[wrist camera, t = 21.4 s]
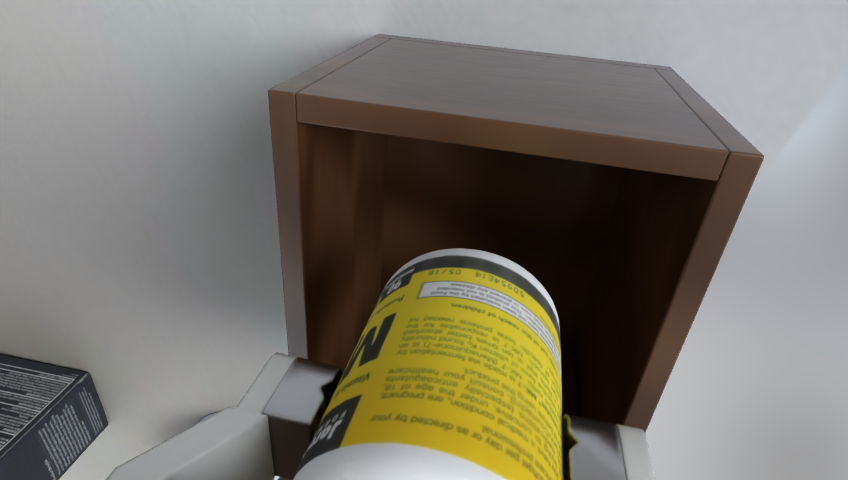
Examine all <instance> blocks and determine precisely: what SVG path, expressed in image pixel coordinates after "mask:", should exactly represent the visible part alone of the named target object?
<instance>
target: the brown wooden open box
mask: <svg viewBox="0 0 848 480" xmlns="http://www.w3.org/2000/svg"><path fill="white" fill-rule="evenodd" d="M268 97H269V110H270V123H271V135H272V148H273V161H274V173H275V186H276V199H277V211H278V224H279V237H280V249H281V262H282V275H283V287H284V300H285V312H286V325H287V338H288V350H289V355H290V356H294V357H300V358H304V359H308V360H313V361H317V362H321V363H325V364H330V365H334V366H338V367H341V368H343V372H344V370H345V368H346V366H347V364H348V362H349V360H350V358H351V356H352V354H353V352H354V349H355V348H356V346H357V344H358V342H359V340H360V337H361V335H362V333H363V331H364V329H365V327H366V325H367V323H368V321H369V319H370V316H371V314H372V312H373V310H374V307H375V305H376V303H377V301H378V299H379V297H380V295H381V293H382V291H383V289H384V288H385V286H386V284H387V283H388V281H389V280H390V279H391V277H392V276H393V275H394V274H395V273H396V272H397V271H398V270H399V269H400V268H401V267H403V266H404V265H405V264H407V263H408V262H410V261H411V260H413V259H415V258H417V257H419V256H421V255H424V254H426V253H430V252H433V251H437V250H444V249H455V248H464V249H475V250H481V251H486V252H489V253H493V254H496V255H499V256H502V257H504V258H507V259H509V260H511V261H513V262H515V263H516V264H518V265H520V266H521V267H523V268H524V269H526V270H527V271H528V272H529V273H530V274H532V275H533V276H534V277H535V278H536V279H537V280H538V281H539V282H540V283H541V284H542V286H543V287H544V288H545V290H546V291H547V292H548V294H549V296H550V297H551V299H552V301H553V303H554V306H555V309H556V311H557V315H558V319H559V326H560V337H561V383H562V419H563V417H564V415H565V414H570V415H575V416H580V417H585V418H590V419H595V420H600V421H605V422H610V423H614V424H619V425H624V426H629V427H634V428H639V429H643V431H644V432H646V429H647V427H648V425H649V423H650V420H651V418H652V416H653V413H654V411H655V409H656V406H657V404H658V402H659V399H660V397H661V395H662V393H663V390H664V388H665V386H666V383H667V381H668V379H669V376H670V374H671V372H672V369H673V367H674V365H675V362H676V360H677V358H678V356H679V353H680V351H681V349H682V346H683V344H684V342H685V339H686V337H687V335H688V332H689V330H690V328H691V325H692V323H693V321H694V319H695V316H696V314H697V311H698V309H699V307H700V305H701V302H702V300H703V298H704V295H705V293H706V291H707V288H708V286H709V284H710V281H711V279H712V277H713V275H714V272H715V270H716V267H717V265H718V263H719V261H720V258H721V256H722V254H723V251H724V249H725V246H726V244H727V242H728V240H729V237H730V235H731V233H732V230H733V228H734V226H735V224H736V221H737V219H738V216H739V214H740V212H741V210H742V207H743V205H744V203H745V200H746V198H747V196H748V193H749V191H750V189H751V187H752V184H753V182H754V180H755V177H756V175H757V173H758V170H759V168H760V166H761V163H762V161H763V159H764V155H763V154H761V153H760V152H759V151H758V150H757V149H756V148H755V147H754V146H753V145H752V144H751V143H750V142H749V141H748V140H747V139H746V138H745V137H744V136H742V135H741V134H740V133H739V132H738V131H737V130H736V129H735V128H734V127H733V126H732V125H731V124H730V123H729V122H728V121H727V120H726V119H724V118H723V117H722V116H721V115H720V114H719V113H718V112H717V111H716V110H715V109H714V108H713V107H712V106H711V105H710V104H709V103H708V102H707V101H705V100H704V99H703V98H702V97H701V96H700V95H699V94H698V93H697V92H696V91H695V90H694V89H693V88H692V87H691V86H690V85H689V84H688V83H686V82H685V81H684V80H683V79H682V78H681V77H680V76H679V75H678V74H677V73H676V72H675V71H674V70H673V69H672V68H671V67H665V66H656V65H647V64H638V63H629V62H621V61H612V60H603V59H594V58H585V57H576V56H567V55H559V54H550V53H541V52H532V51H523V50H514V49H506V48H497V47H488V46H479V45H470V44H461V43H452V42H444V41H435V40H426V39H417V38H408V37H399V36H391V35H382V34H379V35H377V36H375V37H373V38H371V39H369V40H367V41H365V42H363V43H361V44H359V45H357V46H355V47H353V48H351V49H349V50H347V51H345V52H343V53H341V54H339V55H337V56H335V57H333V58H331V59H329V60H327V61H325V62H323V63H321V64H319V65H317V66H315V67H313V68H311V69H309V70H307V71H305V72H303V73H301V74H299V75H297V76H295V77H293V78H291V79H289V80H287V81H285V82H283V83H281V84H279V85H277V86H275V87H273V88H271V89H269V90H268Z"/></svg>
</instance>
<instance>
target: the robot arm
mask: <svg viewBox="0 0 848 480" xmlns="http://www.w3.org/2000/svg"><path fill="white" fill-rule="evenodd" d="M342 375H343V368H341V367H338V366H334V365H330V364H325V363H321V362H317V361H313V360H308V359H304V358H300V357H294V356H290V355H285V354H281V353H275V354H274V355H273V356H271V357H270V359H269V360H268V361H267V363H266V364H265V366H264V367H263V369H262V370H261V372H260V373H259V375H258V376H257V378H256V379H255V381H254V382H253V384H252V385H251V386H250V388H249V389H248V391H247V392H246V394H245V395H244V397H243V398H242V400H241V401H240V403H239V404H238V406H237V407H236V408H233V407H228V408H226V409H224V410H222V411H220V412H219V413H217V414H215V415H213V416H211V417H209V418H207V419H206V420H204V421H202V422H200V423H198V424H196V425H194V426H193V427H191V428H189V429H187V430H185V431H183V432H181V433H180V434H178V435H176V436H174V437H172V438H170V439H168V440H167V441H165V442H163V443H161V444H159V445H157V446H155V447H154V448H152V449H150V450H148V451H146V452H144V453H142V454H140V455H139V456H137V457H135V458H133V459H131V460H129V461H127V462H126V463H124V464H122V465H120V466H118V467H116V468H115V469H114V470H113V472H112V473H111V474H110V475H109V476H108V477H107V479H106V480H273V479H275V476H278V477H283V478H288V479H292V480H293V478H294V475H295V473H296V470H297V468H298V466H299V465H300V462H301V460H302V458H303V456H304V454H305V453H306V451H307V449H308V447H309V445H310V443H311V441H312V439H313V437H314V434H315V432H316V430H317V428H318V426H319V424H320V422H321V419H322V417H323V415H324V413H325V411H326V409H327V407H328V405H329V403H330V401H331V398H332V396H333V394H334V392H335V390H336V388H337V386H338V384H339V381H340V379H341V377H342ZM562 434H563V464H564V480H655V476H654V471H653V467H652V461H651V457H650V452H649V447H648V442H647V438H646V434H645V432H644V431H643V429H639V428H634V427H629V426H624V425H619V424H614V423H610V422H605V421H600V420H595V419H590V418H585V417H580V416H575V415H570V414H565V415H564V417H563V419H562Z"/></svg>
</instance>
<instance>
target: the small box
mask: <svg viewBox="0 0 848 480" xmlns="http://www.w3.org/2000/svg"><path fill="white" fill-rule="evenodd" d="M107 426H108V422H107V419H106V416H105V414H104V411H103V408H102V406H101V403H100V400H99V398H98V395H97V393H96V390H95V387H94V384H93V382H92V379H91V377H90V375H89V373H87V372H83V371H78V370H73V369H68V368H63V367H58V366H53V365H48V364H43V363H38V362H34V361H29V360H24V359H19V358H14V357H9V356H4V355H0V480H59V479H60V477H61V476H62V475H63V474H64V473H65V472H66V471H67V470H68V469H69V467H70V466H71V465H72V464H73V463H74V462H75V461H76V460H77V459H78V457H79V456H80V455H81V454H82V453H83V452H84V451H85V450H86V449H87V448H88V446H89V445H90V444H91V443H92V442H93V441H94V440H95V439H96V438H97V436H98V435H99V434H100V433H101V432H102V431H103V430H104V429H105V428H106V427H107Z"/></svg>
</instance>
